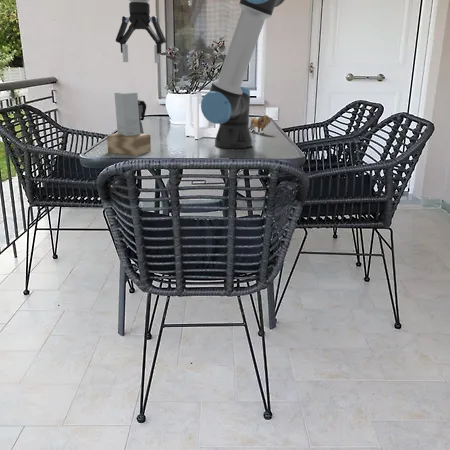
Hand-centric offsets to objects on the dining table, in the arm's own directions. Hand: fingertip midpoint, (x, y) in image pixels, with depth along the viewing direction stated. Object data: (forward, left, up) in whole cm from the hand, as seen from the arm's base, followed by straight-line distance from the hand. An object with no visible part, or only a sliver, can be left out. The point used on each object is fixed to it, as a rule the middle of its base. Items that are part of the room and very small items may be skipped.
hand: (141, 62), depth 185 cm
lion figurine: (-33, -51, -31) cm, 69 cm away
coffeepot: (+11, -12, -31) cm, 35 cm away
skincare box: (-5, +20, -25) cm, 32 cm away
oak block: (-6, +20, -31) cm, 37 cm away
